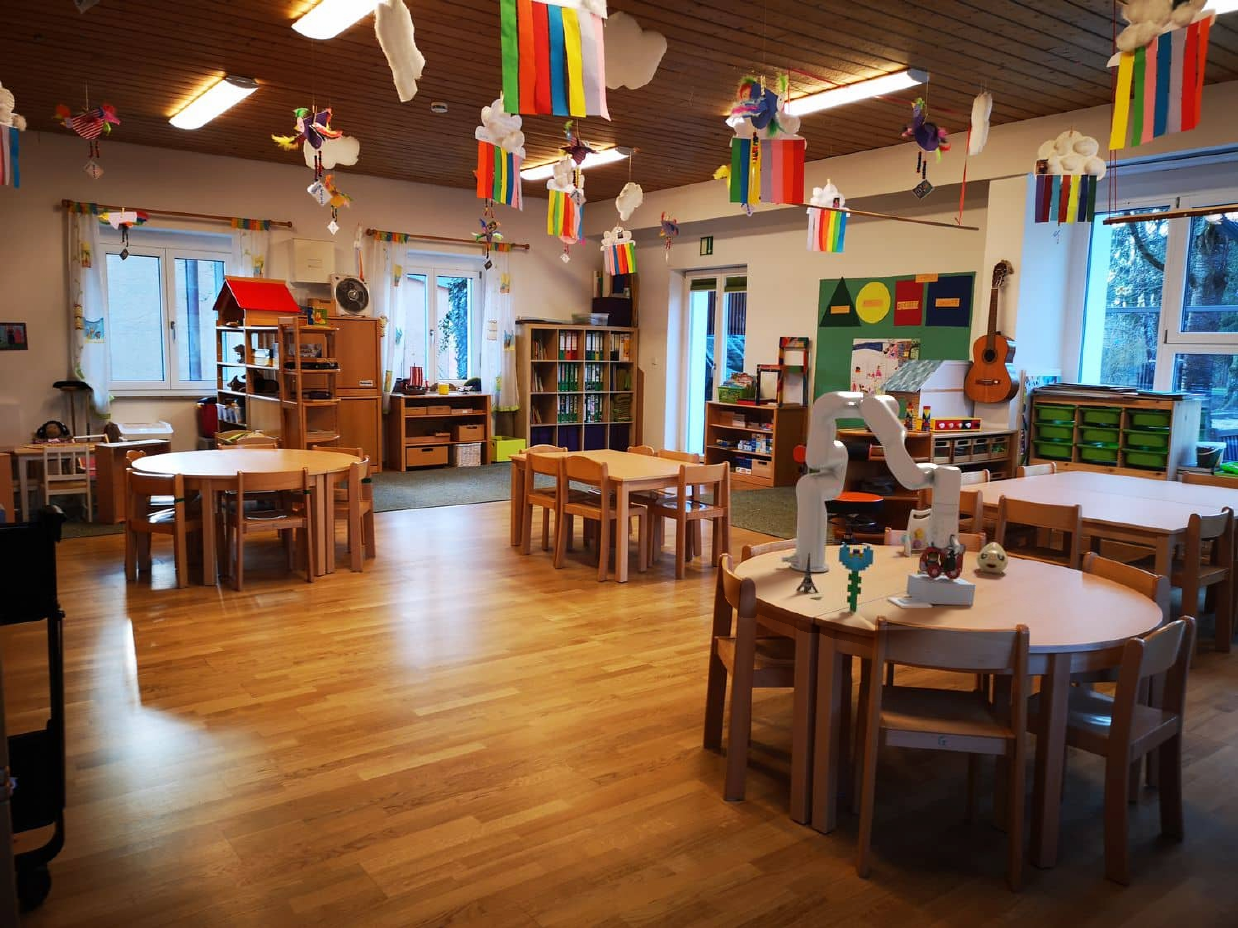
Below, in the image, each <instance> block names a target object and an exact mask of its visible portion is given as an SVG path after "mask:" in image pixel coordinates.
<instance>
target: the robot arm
mask: <svg viewBox="0 0 1238 928" xmlns="http://www.w3.org/2000/svg"><path fill="white" fill-rule="evenodd" d="M900 409H901V408H900V405H899V402H898V401H897V400H896V399H895V397H893V396H891V395H888V394H887V395H886V394H876V393H870V392H863V391H862V392H861V391H845V390H844V391H839V390H838V391H837V390H836V391H830V392H826V393H824V394H822V395H820V396H819V397H818V398H817V399H815V401H814V403H813V404H812V408H811V415H810V427H809V431H808V438H807V444H806V450H805V463H806V466H807V467H809V469H812V470H816V471H819V472H812V473H807V474H805V475H802V476H801V477H800V478H799V479H798V481H797V483H796V486H795V493H796V495H795V496H796V501H797V519H796V520H797V521H796V522H797V524H796V525H797V527H796V546H795V547H796V548H795V552H793V553H792V555H789V556H788V555H782V556H781V558H780V559H781V560H780V561H781V562H782V563H790V567H791V568H792V569H793V570H797V571H801V572H806V569H807V562H808V554H809V553H810V572H811V573H823V572H828V571H830V565H829V564H827V563H826V545H827V530H828V529H827V528H828V527H827V526H828V512H827V511H828V510H827V507H826V504H825V502H826V501H833V500H835V499H837V498H839V497H840V496H841V494H842V492H843V490H844V485H845V480H846V475H847V467H848V461H849V454H848V453H849V452H848V450H847V447H846V445H844V443H843V442H841V441H839V440H836V438H837V437H836V436H837V430H838V428H837V422H836V419H861V420H862V419H863V421H864V422H865V424H866V425H867V426H868V428H869V429H870V430H871V432H872V433H873V435H874V436H875V437H876V439H877V440H878V441H879V442H880V443H879V444H880V445H882V448H883V455H884V459H885V461H886V464H887V467H888V468H889V470H890V472H891V473H892V475H894V477H895V479H896V480H897V481H898V483H900V484H901V485H902V486H903V487H904V488H906V489H908V490H912V491H914V490H921V489H923V490H924V489H932V497H931V508H930V509H931V513H929V516H930V517H929V521H928V528H927V534H926V542H927V544H928V547H929V546H930V547H932V546H931V542H934V546H935V547H936V548H939V549H944V551H945V554H946V557H945V558H944V571H955V561H956V558H957V554H958V551H959V549H960V544H959V512H960V501H961V500H960V498H961V489H962V488H961V487H962V486H961V484H962V470H961V469H960V468H959V467H957V466H952V465H951V466H950V465H947V466H946V465H939V464H935V463H931V462H919V463H916V462H915V461H914V460H913V458H912V457H911V456H910V454H909V452H908V451H907V449H906V446H905V439H906V438H907V436H908V430H907V428H906V426H904V424H903V423H902V421H901V420H900V419H899V418H898V417H899V415H900ZM947 546H951V547H947ZM949 550H951V551H950V552H949ZM936 553H937V554H938V555H939V553H938V552H936ZM928 555H929V554H928ZM939 556H940V555H939ZM927 559H928V558H927ZM928 560H929V559H928ZM937 561H938V562H939V559H938V560H937Z"/></svg>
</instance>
